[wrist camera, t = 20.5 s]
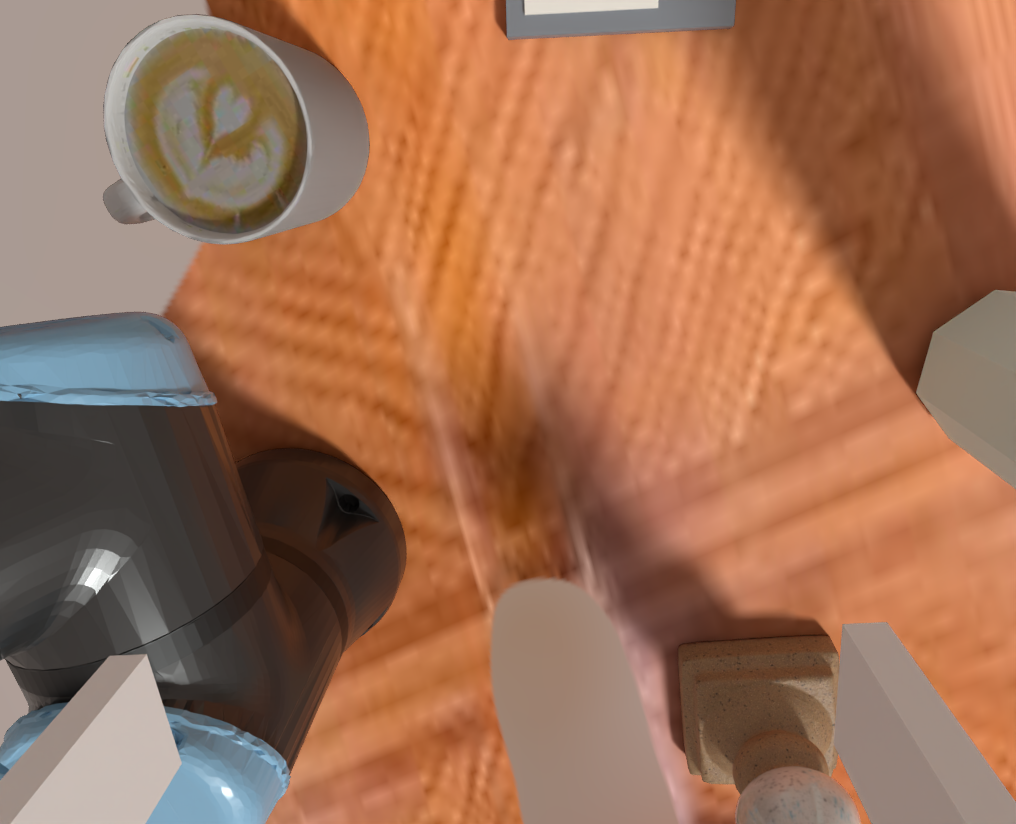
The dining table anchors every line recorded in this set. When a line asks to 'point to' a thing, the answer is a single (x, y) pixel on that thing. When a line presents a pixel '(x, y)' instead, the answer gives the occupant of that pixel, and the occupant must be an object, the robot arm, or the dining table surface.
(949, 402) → the water bottle
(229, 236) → the coffee mug
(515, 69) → the dining table surface
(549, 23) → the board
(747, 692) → the candle holder
